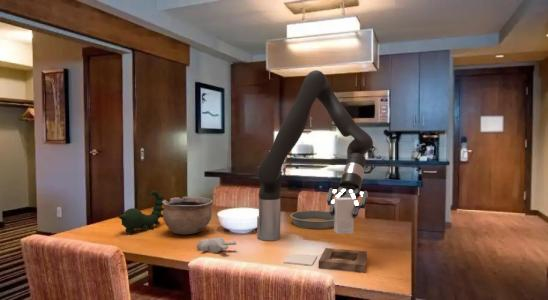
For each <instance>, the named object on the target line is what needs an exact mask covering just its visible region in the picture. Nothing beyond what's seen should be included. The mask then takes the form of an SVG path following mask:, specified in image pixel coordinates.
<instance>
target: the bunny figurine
mask: <svg viewBox="0 0 548 300" xmlns="http://www.w3.org/2000/svg"><path fill="white" fill-rule="evenodd" d="M235 245H237V242H236V241H235V240H234V241H233V240H232V241H225V239H224V238H223V237H220V236H217V237H214V238H207V237H206V238H205V239H203V240H200V241H199V242H198V243H196V245H195V246H196V248H197V249H198V250H199V251H200V252H210V253H212V254H213V253H215V254H218V253H219V252H222V251H224V250H228V249H229V246H235Z"/></svg>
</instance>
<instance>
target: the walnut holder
mask: <svg viewBox="0 0 548 300" xmlns="http://www.w3.org/2000/svg"><path fill="white" fill-rule="evenodd" d="M354 260H355V261H354ZM367 261H368V251H366V250H354V249H353V250H352V249H342V248H331V247H330V248H329V247H325V248H324V250H323V252H322V254H321V255H320V257H319V259H318V269H323V270H335V271H342V272H353V273H363V274H365V272H366V269H367V268H366V267H367Z"/></svg>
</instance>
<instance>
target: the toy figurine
mask: <svg viewBox="0 0 548 300" xmlns="http://www.w3.org/2000/svg"><path fill="white" fill-rule="evenodd" d="M152 195H153V196H154V197H155V200H154V205H153V207H152V211H151V212H150V213H151V214H145V213H143V212H142V211H141V210H140V209H138V208H135V207H134V208H132V207H131V208H129V209H126V210H125V211H124V212H123V213H122V214H120V215H118V216H117V218H118V219H120V220H121V225H122V227H124V228H125V233H126V234H130V235H132V234H133V233H135V230H139V229H140V230H142V231H147V229H149V230H153V229H155V226H161V225H160V224H161V221H159V219H160V218H162V219H163V213H162V211H164V207H163V203H162V201H164V200H165V196H163V195H162V194H159V192H158V191H157V190H151V191H150V192H149V193H148V197H151V196H152Z"/></svg>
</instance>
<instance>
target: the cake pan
mask: <svg viewBox="0 0 548 300" xmlns="http://www.w3.org/2000/svg"><path fill="white" fill-rule="evenodd" d="M289 216H290V218H292V221H293V225H294V226H296V227H298V228H303V229H309V228H310V230H323V229H325V228H326V229H331V228H334V216H331V214H330V212H329V211H326V210H300V211H296V212H295V211H294V212H292V213H291V214H290V215H289ZM309 219H323V220H327V221H309ZM326 229H325V230H326Z"/></svg>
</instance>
